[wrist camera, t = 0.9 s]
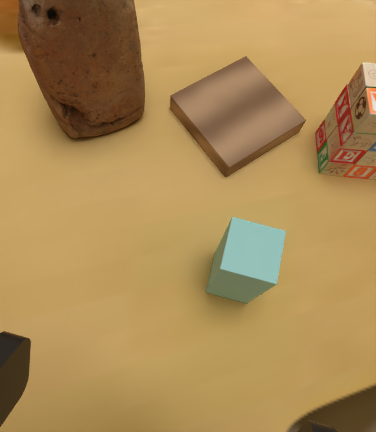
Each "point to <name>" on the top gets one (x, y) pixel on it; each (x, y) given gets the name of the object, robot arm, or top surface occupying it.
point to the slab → (236, 115)
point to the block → (85, 61)
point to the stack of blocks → (351, 129)
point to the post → (246, 261)
